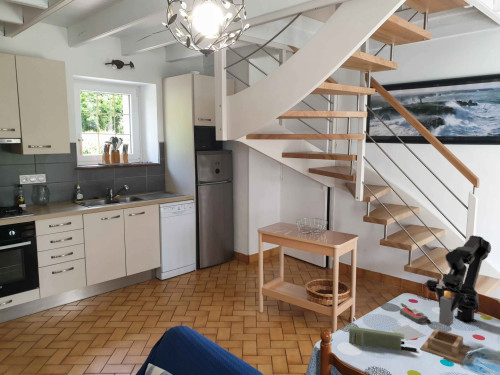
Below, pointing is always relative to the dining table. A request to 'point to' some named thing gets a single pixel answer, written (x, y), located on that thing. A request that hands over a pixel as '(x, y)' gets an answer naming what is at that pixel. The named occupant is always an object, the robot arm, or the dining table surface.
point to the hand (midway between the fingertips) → (445, 309)
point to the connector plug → (446, 309)
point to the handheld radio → (377, 338)
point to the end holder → (446, 346)
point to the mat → (408, 332)
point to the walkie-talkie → (413, 314)
